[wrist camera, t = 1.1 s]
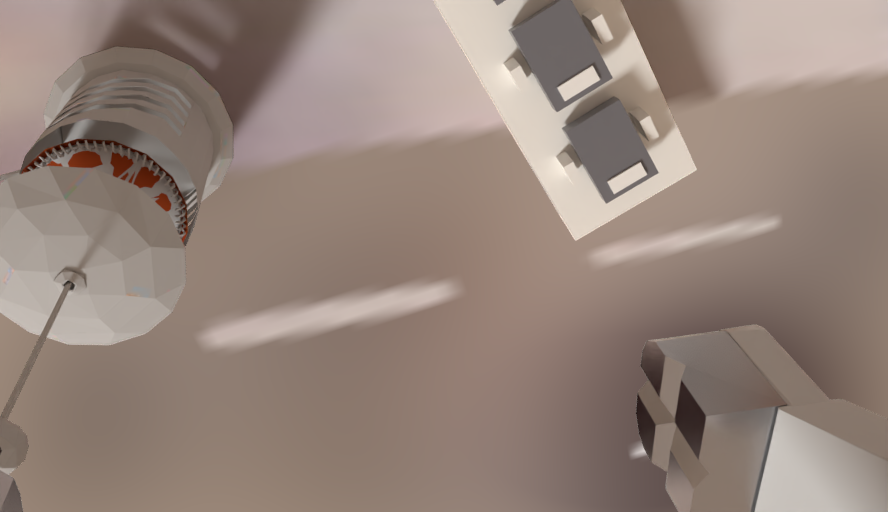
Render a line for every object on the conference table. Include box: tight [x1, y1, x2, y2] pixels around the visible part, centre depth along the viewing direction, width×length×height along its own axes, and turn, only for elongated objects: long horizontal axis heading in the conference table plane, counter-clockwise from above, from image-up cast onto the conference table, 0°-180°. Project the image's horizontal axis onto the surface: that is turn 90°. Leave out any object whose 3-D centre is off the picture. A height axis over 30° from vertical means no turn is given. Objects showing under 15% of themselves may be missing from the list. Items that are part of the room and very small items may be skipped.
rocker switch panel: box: [433, 0, 697, 241], centre depth 40 cm, size 8×27×5 cm, turn 30°
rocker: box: [562, 96, 659, 204], centre depth 42 cm, size 3×5×1 cm
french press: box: [0, 46, 233, 474], centre depth 32 cm, size 10×12×25 cm
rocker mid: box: [508, 0, 613, 112], centre depth 39 cm, size 3×5×1 cm
